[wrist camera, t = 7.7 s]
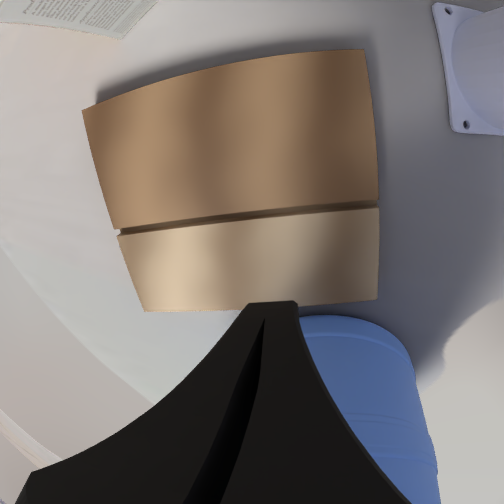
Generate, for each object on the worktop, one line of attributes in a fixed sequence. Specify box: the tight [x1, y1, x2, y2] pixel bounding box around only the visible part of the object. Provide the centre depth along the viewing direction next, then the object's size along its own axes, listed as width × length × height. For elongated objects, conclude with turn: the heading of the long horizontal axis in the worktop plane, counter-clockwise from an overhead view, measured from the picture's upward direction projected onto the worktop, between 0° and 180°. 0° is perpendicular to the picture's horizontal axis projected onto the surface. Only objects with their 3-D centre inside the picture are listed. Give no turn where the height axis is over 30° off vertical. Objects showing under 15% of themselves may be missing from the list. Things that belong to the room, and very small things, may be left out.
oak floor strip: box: [117, 200, 379, 312], centre depth 19 cm, size 16×6×1 cm, turn 99°
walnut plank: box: [82, 49, 379, 229], centre depth 16 cm, size 16×8×1 cm, turn 99°
